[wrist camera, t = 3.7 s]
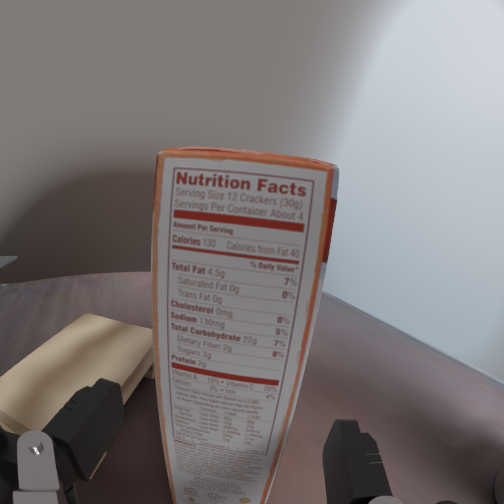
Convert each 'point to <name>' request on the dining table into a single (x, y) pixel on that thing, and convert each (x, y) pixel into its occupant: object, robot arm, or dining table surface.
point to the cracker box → (234, 311)
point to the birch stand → (74, 370)
